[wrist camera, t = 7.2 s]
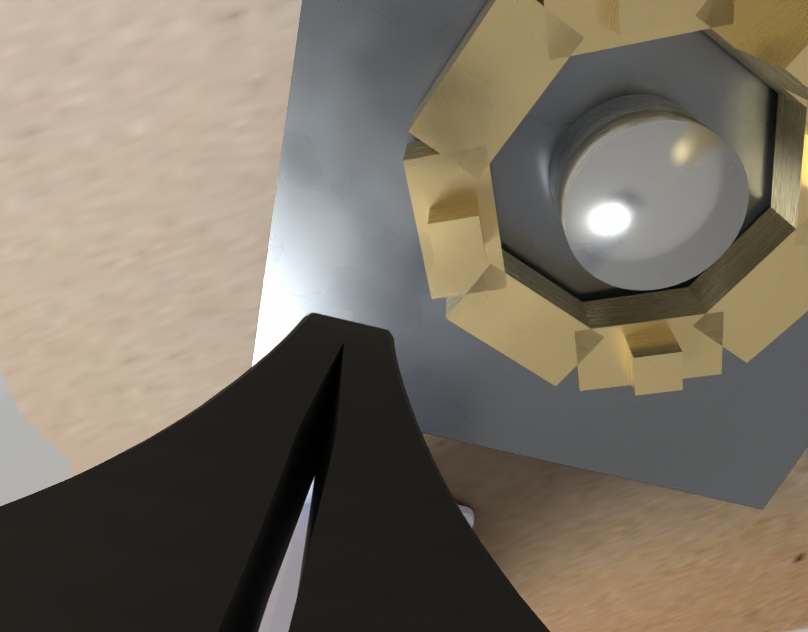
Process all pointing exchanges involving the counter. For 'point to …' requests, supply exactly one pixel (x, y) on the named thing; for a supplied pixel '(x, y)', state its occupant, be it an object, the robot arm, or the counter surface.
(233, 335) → the counter surface
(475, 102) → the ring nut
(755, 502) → the dark gray base plate
